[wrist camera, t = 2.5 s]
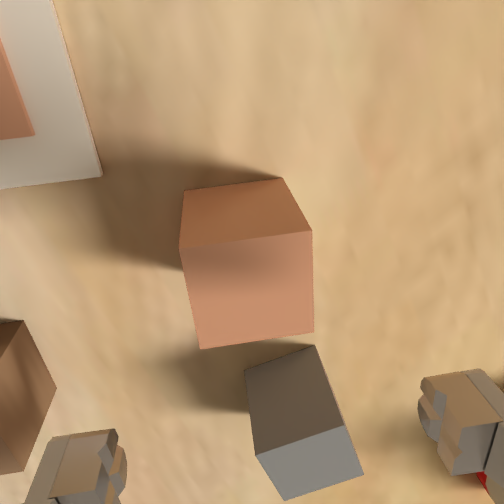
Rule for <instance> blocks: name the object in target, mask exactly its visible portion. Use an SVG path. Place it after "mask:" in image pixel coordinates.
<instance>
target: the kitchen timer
mask: <svg viewBox="0 0 504 504" xmlns="http://www.w3.org/2000/svg"><path fill="white" fill-rule="evenodd" d="M484 472H485V471H482V472H476V474H477V476H478V478H479V480H480V481H481V483H482V484H483V486H484V488H485V489H486V491H487V493H488V494H489V496H490V497H491V498H492V500H493V501H494V502H495V504H504V488H503V487H501V486H500V485H499V484H497V483H496V482H495V481H494V480H492V479H491V478H490V477H488V476H487V475H486V474H485V473H484Z"/></svg>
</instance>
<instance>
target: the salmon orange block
mask: <svg viewBox="0 0 504 504" xmlns="http://www.w3.org/2000/svg"><path fill="white" fill-rule="evenodd" d="M179 253H180V258H181V263H182V267H183V272H184V277H185V281H186V286H187V290H188V295H189V300H190V304H191V309H192V314H193V318H194V323H195V328H196V332H197V337H198V342H199V346H200V350H201V349H207V348H214V347H220V346H227V345H233V344H240V343H247V342H253V341H260V340H266V339H273V338H279V337H286V336H293V335H299V334H306V333H312V332H314V298H313V249H312V229H311V227H310V226H309V224H308V222H307V220H306V219H305V217H304V215H303V213H302V211H301V210H300V208H299V206H298V204H297V203H296V201H295V199H294V197H293V195H292V194H291V192H290V190H289V188H288V187H287V185H286V183H285V181H284V179H283V178H278V179H270V180H262V181H255V182H247V183H239V184H232V185H224V186H216V187H208V188H201V189H193V190H185V191H184V198H183V208H182V218H181V228H180V239H179Z"/></svg>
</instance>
